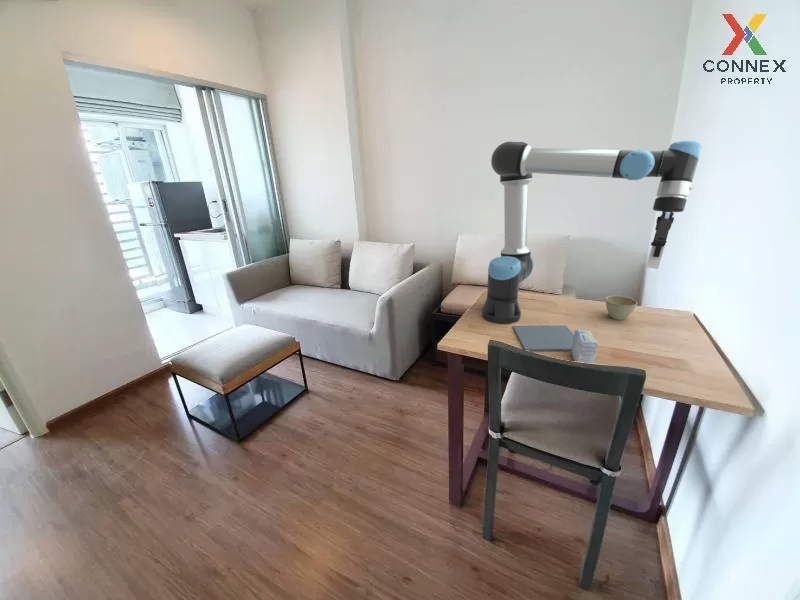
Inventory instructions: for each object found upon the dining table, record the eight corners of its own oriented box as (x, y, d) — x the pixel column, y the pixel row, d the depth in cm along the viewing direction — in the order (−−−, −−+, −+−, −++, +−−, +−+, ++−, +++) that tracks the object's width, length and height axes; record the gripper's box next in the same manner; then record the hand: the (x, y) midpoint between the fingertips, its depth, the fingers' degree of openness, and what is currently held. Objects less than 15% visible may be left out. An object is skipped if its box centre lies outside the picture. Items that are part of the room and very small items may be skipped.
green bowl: (600, 310, 134) (604, 294, 131) (629, 313, 130) (633, 297, 127) (604, 321, 125) (608, 303, 122) (635, 324, 121) (640, 306, 119)
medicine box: (593, 368, 97) (598, 342, 94) (576, 367, 98) (581, 341, 95) (586, 354, 104) (590, 330, 101) (570, 353, 106) (574, 329, 102)
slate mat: (525, 351, 108) (525, 349, 108) (513, 327, 124) (513, 325, 123) (585, 351, 106) (586, 349, 106) (565, 327, 122) (565, 325, 122)
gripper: (692, 192, 87) (669, 271, 92) (682, 203, 107) (664, 267, 112) (657, 191, 91) (637, 266, 96) (654, 202, 111) (637, 264, 116)
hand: (651, 267), depth 104 cm, fingers open, 13 cm apart
